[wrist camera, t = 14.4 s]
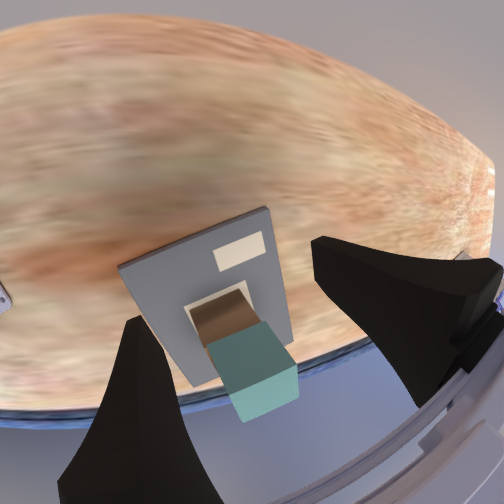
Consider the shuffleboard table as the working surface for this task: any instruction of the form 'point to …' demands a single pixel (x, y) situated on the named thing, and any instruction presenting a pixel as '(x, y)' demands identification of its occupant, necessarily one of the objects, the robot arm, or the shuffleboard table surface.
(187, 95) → the shuffleboard table surface
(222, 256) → the board
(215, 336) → the walnut block
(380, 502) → the robot arm
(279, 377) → the teal block
